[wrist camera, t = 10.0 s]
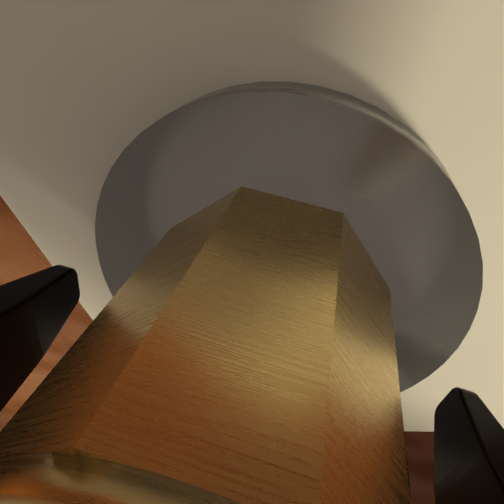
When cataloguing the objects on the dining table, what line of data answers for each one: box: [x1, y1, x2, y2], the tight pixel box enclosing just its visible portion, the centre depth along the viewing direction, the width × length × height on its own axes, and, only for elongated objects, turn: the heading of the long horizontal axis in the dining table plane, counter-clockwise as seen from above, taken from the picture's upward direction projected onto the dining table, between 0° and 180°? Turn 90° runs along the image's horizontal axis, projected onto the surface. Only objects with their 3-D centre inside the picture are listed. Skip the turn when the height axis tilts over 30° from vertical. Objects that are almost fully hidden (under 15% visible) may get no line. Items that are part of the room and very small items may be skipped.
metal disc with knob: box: [95, 82, 483, 392], centre depth 8 cm, size 10×10×6 cm
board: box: [0, 0, 504, 432], centre depth 11 cm, size 18×16×1 cm
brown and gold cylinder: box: [0, 186, 411, 504], centre depth 7 cm, size 6×6×7 cm
